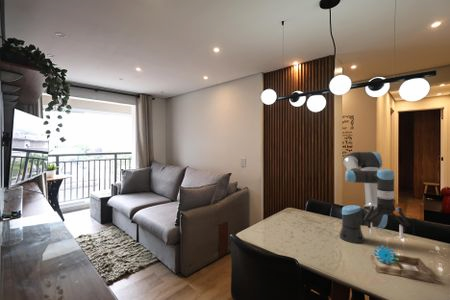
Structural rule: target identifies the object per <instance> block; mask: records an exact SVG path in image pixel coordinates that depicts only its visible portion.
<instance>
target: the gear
mask: <svg viewBox="0 0 450 300" xmlns="http://www.w3.org/2000/svg"><path fill="white" fill-rule="evenodd" d="M380 247H381V248H380ZM376 248H377V249H378V250H377V249H376ZM376 248H375V249H374V250H373V251H374V253H373V255H375V256H379V257H380V258H379V257H376V258H377V260H379V259H383V260H381V261H380V262H381V263H383V262H384V261H385V260H387V261H386V264H389V263H388V260H391V261H390V262H391V263H393V261H394V262H395V263H396V262H397V261H399V259H398V258H395V257H393V255H394V256H396V255H397V253H395V252H394V249H393V248H390V247H389V246H388V245H387V246H384V245H382V244H381V246H378V245H377V246H376ZM393 252H394V253H393Z"/></svg>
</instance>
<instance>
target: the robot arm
mask: <svg viewBox="0 0 450 300" xmlns="http://www.w3.org/2000/svg"><path fill="white" fill-rule="evenodd" d="M342 163H343V165H344V167H345V168H346V170H345V173H344V174H345V182H346V183H355V184H357V183H358V184H360V183H361V184H364V196H365V205H363V208H361V206H360V205H355V204H348V205H344V206H343V207H342V209H341V228H340V231H339V238H340V239H341V240H343V241H345V242H348V243H353V244H361V243H364V242H365V237H364V234H363V231H362V226H363V227H367V228H368V229H369V234H370V236H373V228H378V229H380V228H381V229H384V228H385V227H386V226H387V224H388V217H389V216H393V218H395V220H396V221H397V222H398V224H399V223H400V224H399V225H398V226H399V228H398V229H399V232H398V234H399V237H400V239H401V240H402V239H404V233H406V227H409V226H410V225H411V224H410V223H409V221H408V219H407V218H406V216H405V215H404V213H403V209H402V207H400V206H397V207H395V171H394V170H393V169H392V170H391V169H387V168H386V169H385V168H383V169H381V168H382V167H383V159H382V156H381V154H380V153H379V152H377V151H354V152H353V151H352V152H350V153H348V154H346V155H345V156H344V158H343V159H342ZM394 212H398V213H399V215H400V218H402V220H401V219H400V218H399V216H398V215H396V214H395V213H394Z"/></svg>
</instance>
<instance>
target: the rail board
mask: <svg viewBox="0 0 450 300" xmlns="http://www.w3.org/2000/svg"><path fill="white" fill-rule="evenodd" d="M392 256H393V257H395V258H398V259H399V261H397V262H396V263H395V262H394V261H393V263H391V262H390V261H391V260H388V263H389V264H386V261H387V260H385V261H384V262H383V263H381V262H380V261H381V260H383V259H379V260H377V258H376V257H379V256H375V255H374V254H373V255H372V254H370V256H369V257H370V260H371V263H372V265H373V268H374V270H375V272H376V273H379V274H385V275H389V276H396V277H401V278H408V279H411V280H419V281H422V282H428V283H434V273H432V271H431V270H430V269H429V268H428V266H427V265H426V263H424V262H423V261H422V259H421V258H420V257H412V256H406V255H399V254H396V256H394V255H392ZM379 258H380V257H379Z"/></svg>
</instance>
